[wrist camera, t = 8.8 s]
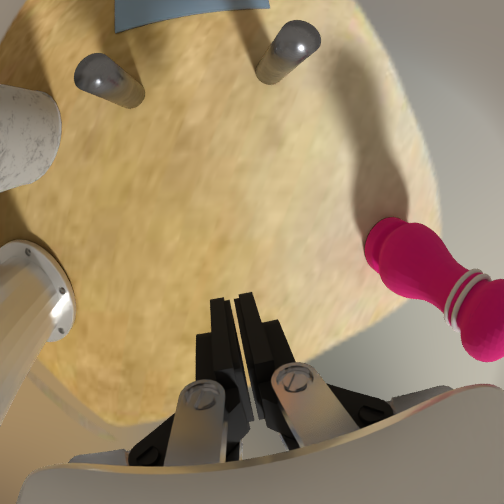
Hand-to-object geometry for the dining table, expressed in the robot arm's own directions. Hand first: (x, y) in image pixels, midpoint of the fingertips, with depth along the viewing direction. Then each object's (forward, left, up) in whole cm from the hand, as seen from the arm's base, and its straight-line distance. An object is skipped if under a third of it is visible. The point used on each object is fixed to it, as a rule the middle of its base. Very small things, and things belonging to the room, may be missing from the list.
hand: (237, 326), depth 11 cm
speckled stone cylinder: (-18, +13, -15) cm, 27 cm away
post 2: (+6, +13, -15) cm, 21 cm away
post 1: (-6, +13, -15) cm, 21 cm away
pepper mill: (+17, -5, -15) cm, 23 cm away
